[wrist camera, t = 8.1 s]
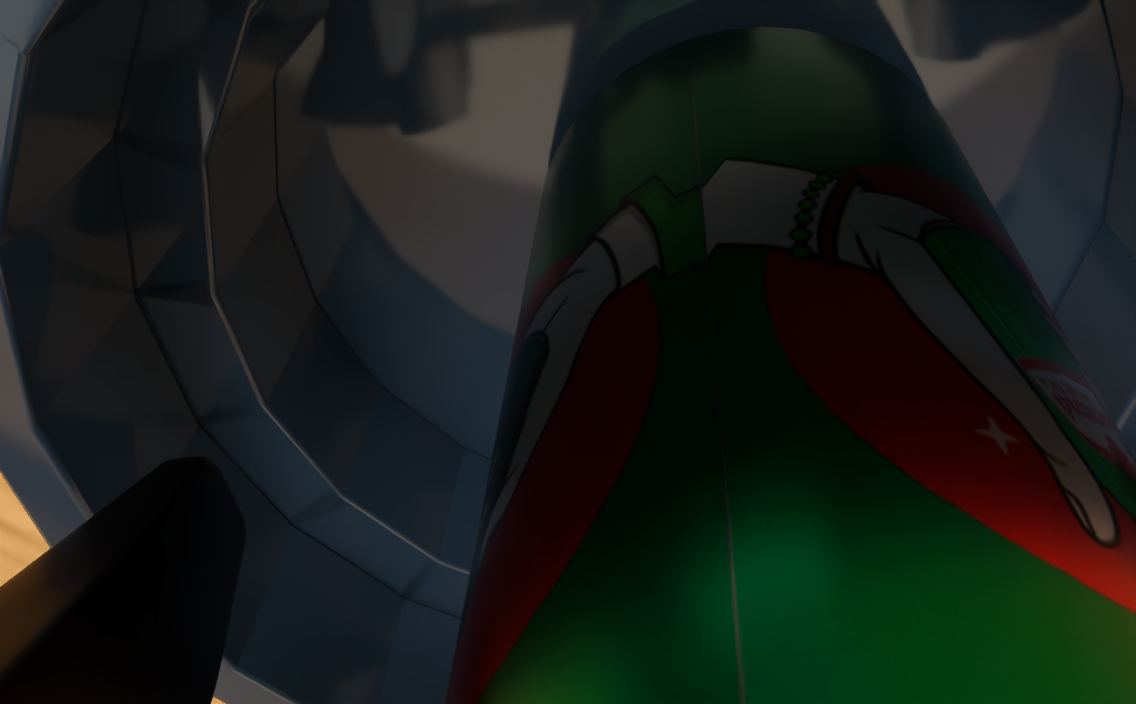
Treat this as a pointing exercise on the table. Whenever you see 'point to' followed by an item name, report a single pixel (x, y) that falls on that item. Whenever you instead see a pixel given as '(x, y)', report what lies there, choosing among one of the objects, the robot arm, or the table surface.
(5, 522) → the table surface
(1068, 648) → the soda can
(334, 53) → the bowl
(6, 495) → the table surface
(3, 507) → the table surface
